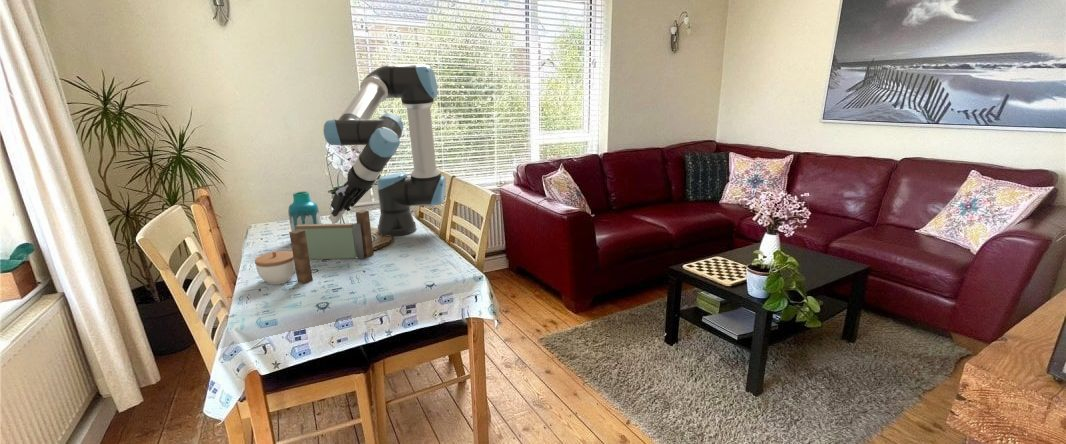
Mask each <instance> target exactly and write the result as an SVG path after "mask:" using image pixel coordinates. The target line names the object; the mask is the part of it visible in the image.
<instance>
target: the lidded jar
mask: <svg viewBox="0 0 1066 444" xmlns="http://www.w3.org/2000/svg"><path fill="white" fill-rule="evenodd" d="M254 264H255V268H256V270H257V271H256V272H257V273H258V275H259V277H260V278H261V280H263V281H264V282H266V283H267V284H268V285H272V286H273V285H281V284H285V283H287V282H289V281H290V280H291V278H292V277H293V276H294V274H295V273H296V269H295V263H294V258H293V252H292V251H290V250H289V251H288V250H279V251H276V250H273V251H272V252H269V253H264V254H262V255H259V256H257V257H255V259H254Z"/></svg>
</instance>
